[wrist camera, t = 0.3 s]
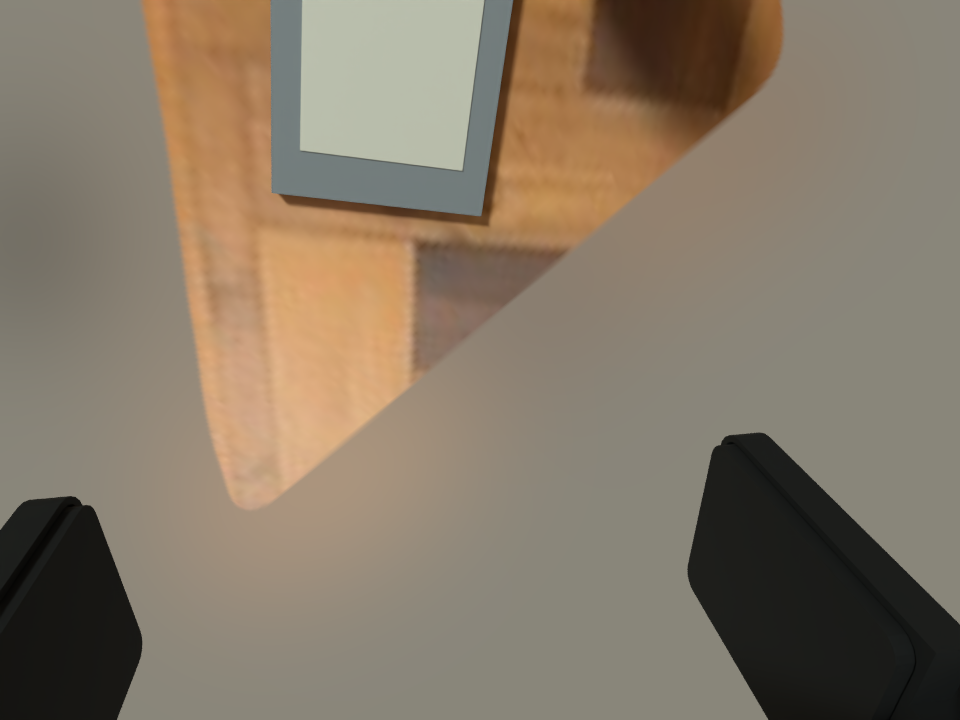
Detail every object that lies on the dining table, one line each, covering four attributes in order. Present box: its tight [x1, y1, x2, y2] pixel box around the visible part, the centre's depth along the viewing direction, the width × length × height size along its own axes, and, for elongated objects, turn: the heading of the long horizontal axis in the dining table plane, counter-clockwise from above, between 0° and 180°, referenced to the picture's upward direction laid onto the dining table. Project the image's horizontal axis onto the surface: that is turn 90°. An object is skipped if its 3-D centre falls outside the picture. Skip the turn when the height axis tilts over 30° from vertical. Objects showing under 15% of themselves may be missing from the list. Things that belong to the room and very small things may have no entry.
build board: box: [271, 0, 513, 216], centre depth 32 cm, size 14×12×1 cm
